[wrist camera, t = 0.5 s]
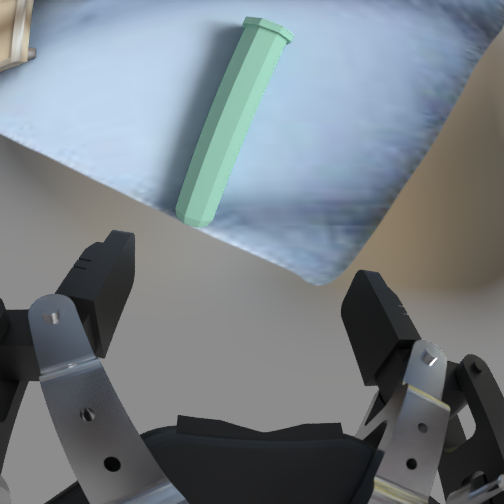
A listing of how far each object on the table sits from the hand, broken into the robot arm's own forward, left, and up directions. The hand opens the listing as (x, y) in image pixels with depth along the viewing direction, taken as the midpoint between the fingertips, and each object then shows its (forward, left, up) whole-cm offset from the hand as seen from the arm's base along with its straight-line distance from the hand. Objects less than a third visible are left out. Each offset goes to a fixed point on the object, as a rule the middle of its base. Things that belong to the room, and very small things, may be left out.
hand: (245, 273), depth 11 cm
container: (-3, -1, -29) cm, 29 cm away
